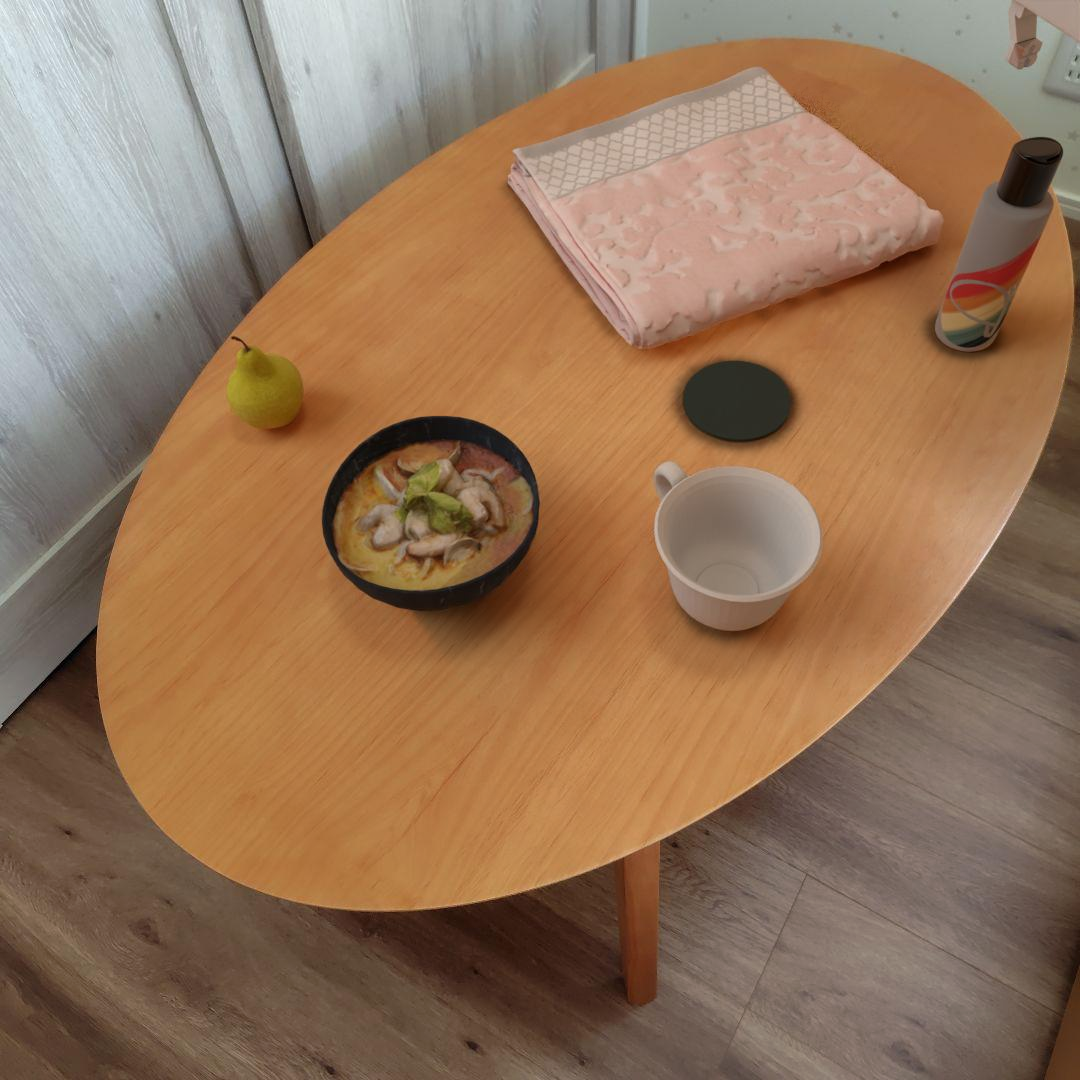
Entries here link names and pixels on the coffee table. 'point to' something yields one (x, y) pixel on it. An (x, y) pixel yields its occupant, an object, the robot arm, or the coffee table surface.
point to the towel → (714, 207)
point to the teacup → (733, 542)
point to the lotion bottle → (999, 246)
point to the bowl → (431, 513)
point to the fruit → (264, 388)
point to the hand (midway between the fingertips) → (1060, 93)
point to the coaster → (736, 401)
